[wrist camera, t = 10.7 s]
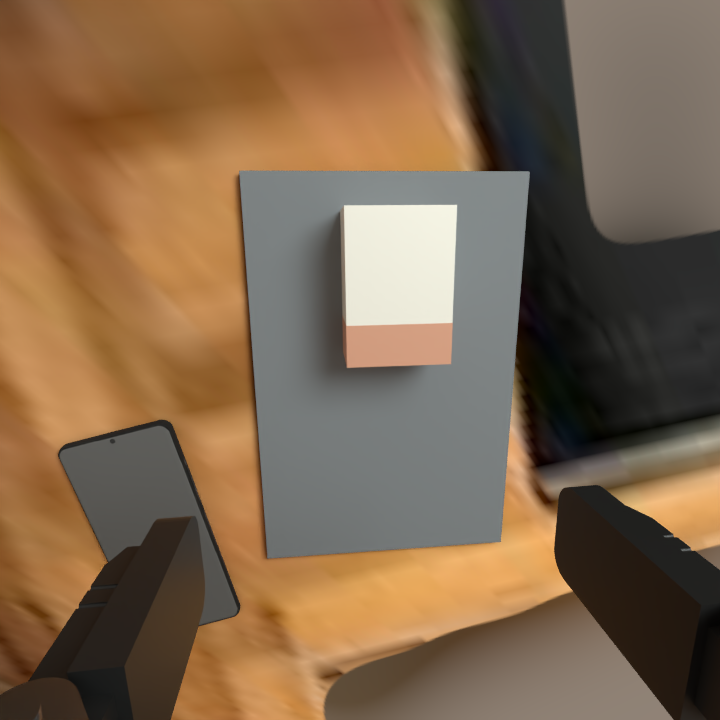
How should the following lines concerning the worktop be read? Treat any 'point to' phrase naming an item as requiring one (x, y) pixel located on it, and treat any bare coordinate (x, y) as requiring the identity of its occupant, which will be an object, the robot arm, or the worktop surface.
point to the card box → (397, 284)
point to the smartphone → (145, 498)
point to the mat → (379, 369)
